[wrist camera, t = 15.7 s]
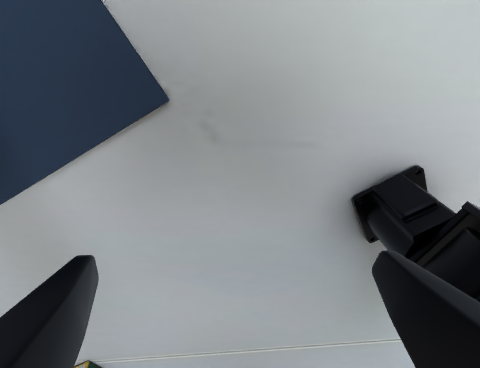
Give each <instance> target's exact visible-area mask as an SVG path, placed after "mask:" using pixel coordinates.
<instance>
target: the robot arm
mask: <svg viewBox="0 0 480 368" xmlns="http://www.w3.org/2000/svg"><path fill="white" fill-rule="evenodd" d="M416 171H417V172H416ZM357 200H358V201H357ZM352 203H353V206H354V209H355V211H356V214H357V217H358V219H359V222H360V225H361V227H362V230H363V232H364V235H365V238H366V240H367V241H368V242H369V243H373V242H375V241H377V240H380V241H381V242H382V244H383V245H384V246H385V247H386V248H387V250H388V251H381V252H380V253H379V255H378V257H377V259H376V261H375V263H374V265H373V267H372V274H373V277H374V279H375V282H376V284H377V287H378V289H379V292H380V294H381V297H382V299H383V302H384V304H385V307H386V309H387V311H388V314H389V316H390V318H391V320H392V322H393V325H394V327H395V328H396V330H397V332H398V334H399V336H400V338H401V340H402V342H403V344H404V346H405V348H406V350H407V352H408V354H409V356H410V358H411V360H412V362H413V363H414V365H415V367H416V368H480V208H479V207H477V206H475V205H473V204H471V203H470V202H468V201H467V202H466V203H465V204H464V205H463V206H462V209H461V210H460V211H459V212H458V213H455V212H453V211H452V210H450V209H449V208H448V207H446V206H445V205H444V204H442V203H441V202H440V201H438V200H437V199H436V198H435V197H433V196H432V195H431V194H429V193H428V192H427V186H426V180H425V174H424V169H423V168H421V167H420V166H414V167H412V168H410V169H408V170H406V171H404V172H402V173H400V174H398V175H396V176H394V177H392V178H390V179H388V180H386V181H384V182H382V183H380V184H377V185H375V186H373V187H371V188H369V189H367V190H365V191H363V192H361V193H359V194H357V195H355V196H354V197H353V198H352ZM98 278H99V277H98V271H97V266H96V262H95V258H94V256H92V255H78V256H76V257H74V258H73V259H72V260H71V261H69V262H68V263H67V264H66V265H64V266H63V267H62V268H61V269H59V270H58V271H57V272H56V273H54V274H53V275H52V276H51V277H50V278H48V279H47V280H46V281H45V282H43V283H42V284H41V285H40V286H38V287H37V288H36V289H35V290H34V291H32V292H31V293H30V294H29V295H27V296H26V297H25V298H24V299H22V300H21V301H20V302H19V303H18V304H16V305H15V306H14V307H13V308H11V309H10V310H9V311H8V312H6V313H5V314H4V315H3V316H2V317H0V368H73V367H74V365H75V362H76V359H77V357H78V354H79V351H80V348H81V346H82V343H83V340H84V336H85V333H86V329H87V325H88V321H89V317H90V313H91V309H92V305H93V301H94V297H95V293H96V289H97V285H98Z"/></svg>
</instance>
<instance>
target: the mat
mask: <svg viewBox="0 0 480 368" xmlns="http://www.w3.org/2000/svg"><path fill="white" fill-rule="evenodd" d="M168 101H169V98H168V97H167V96H166V94H165V93H164V91H163V90H162V88H161V87H160V85H159V84H158V82H157V81H156V80H155V78H154V77H153V75H152V74H151V72H150V71H149V69H148V68H147V66H146V65H145V64H144V62H143V61H142V59H141V58H140V56H139V55H138V53H137V52H136V50H135V49H134V48H133V46H132V45H131V43H130V42H129V40H128V39H127V37H126V36H125V34H124V33H123V32H122V30H121V29H120V27H119V26H118V24H117V23H116V21H115V20H114V18H113V17H112V15H111V14H110V13H109V11H108V10H107V8H106V7H105V5H104V4H103V2H102V1H101V0H0V205H1V204H2V203H4V202H6V201H7V200H9V199H10V198H12V197H14V196H15V195H17V194H19V193H20V192H22V191H23V190H25V189H27V188H28V187H30V186H32V185H33V184H35V183H36V182H38V181H40V180H41V179H43V178H44V177H46V176H48V175H49V174H51V173H53V172H54V171H56V170H57V169H59V168H61V167H62V166H64V165H66V164H67V163H69V162H70V161H72V160H74V159H75V158H77V157H79V156H80V155H82V154H83V153H85V152H87V151H88V150H90V149H92V148H93V147H95V146H96V145H98V144H100V143H101V142H103V141H105V140H106V139H108V138H109V137H111V136H113V135H114V134H116V133H117V132H119V131H121V130H122V129H124V128H126V127H127V126H129V125H130V124H132V123H134V122H135V121H137V120H139V119H140V118H142V117H143V116H145V115H147V114H148V113H150V112H152V111H153V110H155V109H156V108H158V107H160V106H161V105H163V104H165V103H166V102H168Z"/></svg>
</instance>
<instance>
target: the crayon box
mask: <svg viewBox="0 0 480 368" xmlns="http://www.w3.org/2000/svg"><path fill="white" fill-rule="evenodd" d="M74 368H100V367H99V366H97V365H95V364H93V363H92V362H90V361H87V362H85V363H83V364H81V365H79V366H76V367H74Z"/></svg>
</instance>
